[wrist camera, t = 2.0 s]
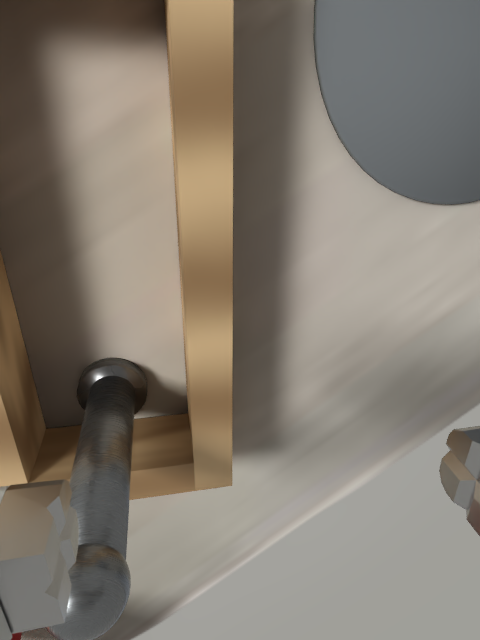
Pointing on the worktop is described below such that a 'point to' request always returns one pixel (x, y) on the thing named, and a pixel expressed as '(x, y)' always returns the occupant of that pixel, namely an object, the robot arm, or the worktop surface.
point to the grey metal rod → (102, 497)
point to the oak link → (196, 289)
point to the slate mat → (405, 91)
